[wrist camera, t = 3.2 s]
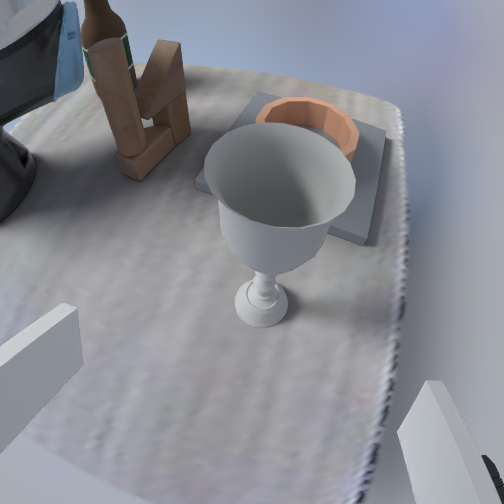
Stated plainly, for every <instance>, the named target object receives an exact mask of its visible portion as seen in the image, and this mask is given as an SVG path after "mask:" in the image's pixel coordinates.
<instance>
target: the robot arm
mask: <svg viewBox="0 0 504 504" xmlns="http://www.w3.org/2000/svg"><path fill="white" fill-rule="evenodd" d="M83 79H84V65H83V54H82V44H81V34H80V25H79V16H78V9H77V6H76V3H75V2H65V3H64V4H63V5H62V4H61V1H60V0H0V222H1V221H2V220H3V219H5V218H6V217H7V216H8V215H9V214H10V213H11V212H12V211H13V210H14V209H15V208H16V207H17V206H18V205H19V203H20V202H21V201H22V199H23V198H24V197H25V195H26V194H27V192H28V190H29V188H30V186H31V184H32V182H33V179H34V176H35V172H36V163H35V160H34V158H33V157H32V155H31V153H30V151H29V150H28V149H27V148H26V147H25V146H24V145H23V144H21V143H20V142H19V141H17V140H16V139H15V138H14V137H12V136H11V135H10V134H8V133H7V132H6V131H5V130H4V129H3V127H2V126H3V125H5V124H7V123H9V122H11V121H12V120H14V119H16V118H18V117H20V116H22V115H24V114H26V113H28V112H31V111H33V110H35V109H37V108H39V107H41V106H43V105H46V104H48V103H50V102H52V101H53V102H55V101H56V100H57V99H58V98H60V97H62V96H64V95H66V94H68V93H70V92H73V91H75V90H76V89H78V88H79V86H80V85H81V84H82V82H83ZM83 365H84V363H83V356H82V348H81V340H80V330H79V320H78V308H76V307H73V306H71V305H68V304H65V303H62V304H60V305H59V306H57V307H56V308H54V309H53V310H51V311H50V312H48V313H47V314H45V315H44V316H42V317H41V318H40V319H38V320H37V321H35V322H34V323H32V324H31V325H29V326H28V327H27V328H25V329H24V330H22V331H21V332H19V333H18V334H17V335H15V336H14V337H12V338H11V339H10V340H8V341H7V342H6V343H4V344H3V345H1V346H0V454H1V453H2V452H3V451H4V449H6V447H7V446H8V445H9V444H10V443H11V442H12V441H13V440H14V439H15V438H16V436H17V435H18V434H19V433H20V432H21V431H22V430H23V429H24V428H25V427H26V425H27V424H28V423H29V422H30V421H31V420H32V419H33V418H34V417H35V416H36V415H37V414H38V413H39V411H40V410H41V409H42V408H43V407H44V406H45V405H46V404H47V403H48V402H49V401H50V400H51V399H52V398H53V397H54V396H55V394H56V393H57V392H58V391H59V390H60V389H61V388H62V387H63V386H64V385H65V384H66V383H67V382H68V381H69V380H70V379H71V378H72V377H73V376H74V375H75V374H76V373H77V372H78V371H79V369H80V368H81V367H82V366H83ZM397 434H398V437H399V441H400V444H401V448H402V451H403V455H404V458H405V462H406V466H407V470H408V473H409V477H410V481H411V485H412V489H413V493H414V497H415V501H416V504H504V487H503V486H504V484H503V481H502V479H501V478H500V475H499V472H498V471H497V468H496V466H495V464H494V463H493V462H492V461H491V460H490V459H489V458H488V457H487V456H486V455H482V456H481V455H480V453H479V451H478V448H477V446H476V444H475V442H474V440H473V438H472V436H471V434H470V432H469V430H468V428H467V426H466V424H465V422H464V421H463V418H462V416H461V415H460V413H459V411H458V409H457V407H456V405H455V403H454V401H453V400H452V398H451V396H450V394H449V392H448V390H447V389H446V387H445V385H444V383H443V382H442V381H434V380H426V381H425V383H424V385H423V387H422V389H421V390H420V393H419V394H418V396H417V398H416V400H415V402H414V403H413V405H412V407H411V409H410V411H409V412H408V414H407V416H406V418H405V419H404V421H403V423H402V424H401V426H400V428H399V429H398V431H397Z"/></svg>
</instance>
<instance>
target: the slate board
mask: <svg viewBox="0 0 504 504" xmlns="http://www.w3.org/2000/svg"><path fill="white" fill-rule="evenodd" d="M278 99H281V97H277V96H273V95H268V94H264V93H260V92H257V94H256V95H255V96H254V98H253V99H252V100H251V101H250V103H249V104H248V105H247V107H246V108H245V109H244V111H243V112H242V113H241V115H240V116H239V117H238V119H237V120H236V122H235V123H234V124H233V126H232V127H231V128H230V130H229V131H228V132H230V131H232V130H234V129H237V128H239V127H242V126H244V125H251V124H255V119H256V117H257V116H258V114H259V113H260V111H261V110H262V108H263V107H264V105H266V104H268V103H271V102H273V101H276V100H278ZM351 119H352V118H351ZM352 120H353V122H354V124H355V126H356V127H357V129H358V131H359V133H360V134H359V138H358V142H357V146H356V150H355V153H354V155H353V158H352V161H351V167H352V170H353V173H354V176H355V179H356V182H355V193H354V197H353V199H352V200H351V202H350V203H349V205H348V206H347V208H346V210H345V211H344V212H343V213H341V214H339V215H338V216H336V217H335V218H333V219H332V222H331V224H330V227H329V229H328V232H327V233H329V234H332V235H334V236H337V237H340V238H343V239H345V240H348V241H351V242H354V243H356V244H359V245H362V246H363V245H364V243H365V241H366V240H367V237H368V232H369V228H370V223H371V218H372V213H373V208H374V203H375V198H376V192H377V187H378V181H379V175H380V169H381V163H382V156H383V150H384V143H385V136H386V131H385V130H382V129H380V128H377V127H374V126H372V125H369V124H366V123H363V122H360V121H357V120H355V119H352ZM293 126H297V127H301V128H305V129H307V130H309V131H312V132H314V133H316V134H318V135H320V136H323V137H324V138H325V139H327V140H328V141H329V142H331V143H332V144H333V145H335V146H336V147H337V148H339V149H341V148H340V145H339V143H338V141H337V140H335V139H334V138H333V137H331V136H330V135H329V134H328V133H326V132H325V131H324V130H321V129H318V128H315V127H311V126H308V125H305V124H298V125H293ZM204 166H205V165H204ZM194 182H195V188H196V189H198V190H201V191H204V192H207V193H210V194H213V193H212V192H211V190H210V188H209V185H208V183H207V181H206V179H205V176H204V167H203V168H202V170H201V171H200V173H199V174H198V176H197V177H196V179H195V180H194Z"/></svg>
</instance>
